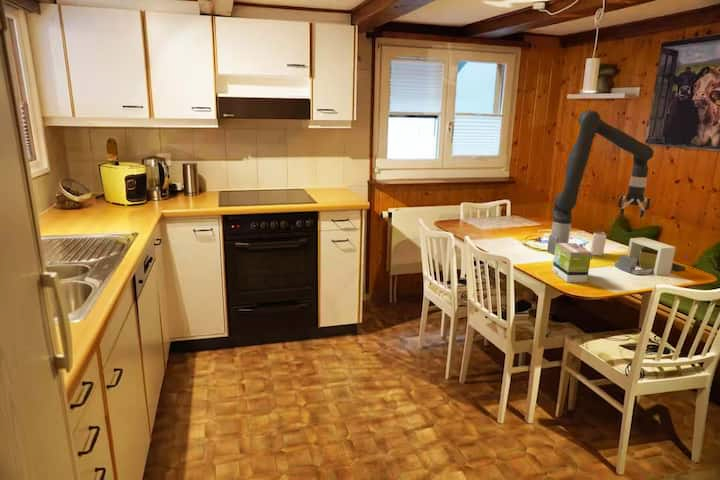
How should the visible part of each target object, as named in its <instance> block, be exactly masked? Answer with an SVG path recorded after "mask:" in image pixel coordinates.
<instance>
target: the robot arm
mask: <svg viewBox="0 0 720 480" xmlns="http://www.w3.org/2000/svg"><path fill="white" fill-rule="evenodd" d="M577 122H578V125H579V126H580V127H579V130H578V136H577V138H576V141H575V142H574V145H572V149H571V151H570V152H569V156H568V159H567V163H566V167H565V182H564V186H563V188H562V191H560V192H558V193H557V194H556V196H555V198H554V203H553V211H552V216H553V218H552V227H551V231H550V234H549V235H548V242H547V249H546V252H547V253H550V254H552V255H554V254H555V247H556V243H570V242H569V241H570V236H571V228H572V221H573V217H572V210H573V209H574V208H575V206H576V205H577V201H578V195H579V191H580V190H579V189H580V187H581V186H580V185H581V183H582V180H583V177H584V174H585V171H586V168H587V164H588V161H589V157H590V153H591V150H592V145H593V141H594V139H595V135H596V134H597V135H600V136H601V137H602V138H604V139H606V140H607V141H609V142H611V143H612V144H614V145H615V146H617V147H618V148H621V149H622V150H624V151H625V152H629V153H630V154H632V155H633V156H632V157H633V160H632V164H633V165H632V171H631V177H630V179H629V183H628V187H627V193H626V195H622V194H620V195H619V197H618V202H617V207H618V208H620V211H619V214H620V215H621V216H622V217H623V216H624V213H625V208H626V207H628V206H629V205H630V206H639V208H640V211H639V218H640V219H641V218H642V217H644V215H645V214H644V213H645V211H648V210H650V205H651V204H650V203H651V198H650V197H645V196H644V195H645V191H646V188H647V182H648V179H647V178H648V173H649V165H648V162H649V160H651V159H652V158H653V156H654V150H653V148H652V147H651V146H649V145H647V144H646V143H644V142H641V141H639V140H638V139H636V138H634V137H633V136H631V135H630V134H628V133H627V132H625V131H623V130H620V129H618V128H616V127H613V126H612V125H610V124H608V123H606V122H605V121H604V120H603V119H601V115H600V113H598V111H595V110H586V111H583V112H582V113H580V115H579V116H578V119H577ZM623 200H626V201H625V202H623ZM643 201H644V203H645V206H644V205H643V203H642V202H643ZM622 203H623V204H622Z"/></svg>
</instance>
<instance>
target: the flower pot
mask: <svg viewBox="0 0 720 480" xmlns="http://www.w3.org/2000/svg"><path fill="white" fill-rule="evenodd" d="M657 254H658V250H655V249H652V248H641V251H640V258H639V264H638V265H639V266H640V269H650V268H655V263H656V259H657Z"/></svg>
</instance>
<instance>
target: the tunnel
mask: <svg viewBox="0 0 720 480" xmlns="http://www.w3.org/2000/svg"><path fill="white" fill-rule="evenodd" d="M628 243H629V244H628V250H627V254H626V255H629V256H632V257H635V258H637V260H639V258H640V251H641V248H645V247H647V248H648V249H651V250H657V251H658V254H657V259H656V263H655V268H654V273H652V274H653V275H654V276H662V275H670V274H671V272H672V271H671V267H672V263H674V256H675V253H676V246H673V245H671V244H666V243H663V242H660V241H658V240H655V239H650V238H647V237H643V236H642V237H633V238H632V237H631V238H630V239H629V242H628ZM645 249H646V248H645Z"/></svg>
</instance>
